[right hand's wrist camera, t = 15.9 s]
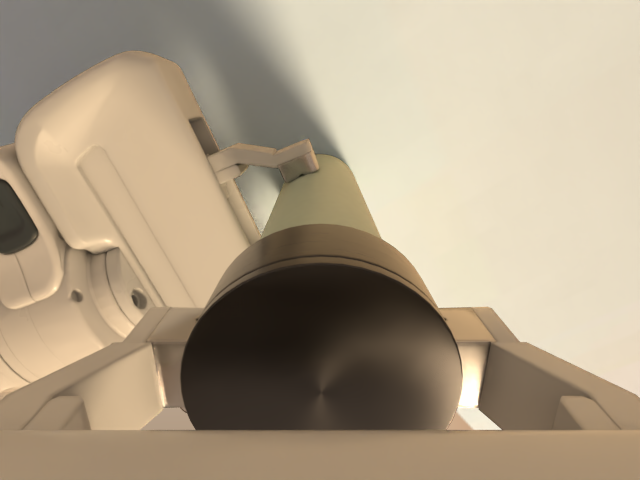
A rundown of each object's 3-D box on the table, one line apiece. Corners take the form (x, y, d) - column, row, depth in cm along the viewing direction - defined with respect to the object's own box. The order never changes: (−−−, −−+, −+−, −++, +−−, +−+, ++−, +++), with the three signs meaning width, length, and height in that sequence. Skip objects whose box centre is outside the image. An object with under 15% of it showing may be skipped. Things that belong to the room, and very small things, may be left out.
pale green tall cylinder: (328, 238, 26) (344, 483, 10) (270, 199, 25) (173, 396, 9) (371, 182, 25) (476, 353, 8) (311, 138, 24) (291, 232, 7)
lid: (472, 343, 10) (515, 412, 8) (303, 442, 12) (299, 526, 9) (343, 173, 9) (352, 199, 6) (164, 310, 10) (118, 372, 8)
